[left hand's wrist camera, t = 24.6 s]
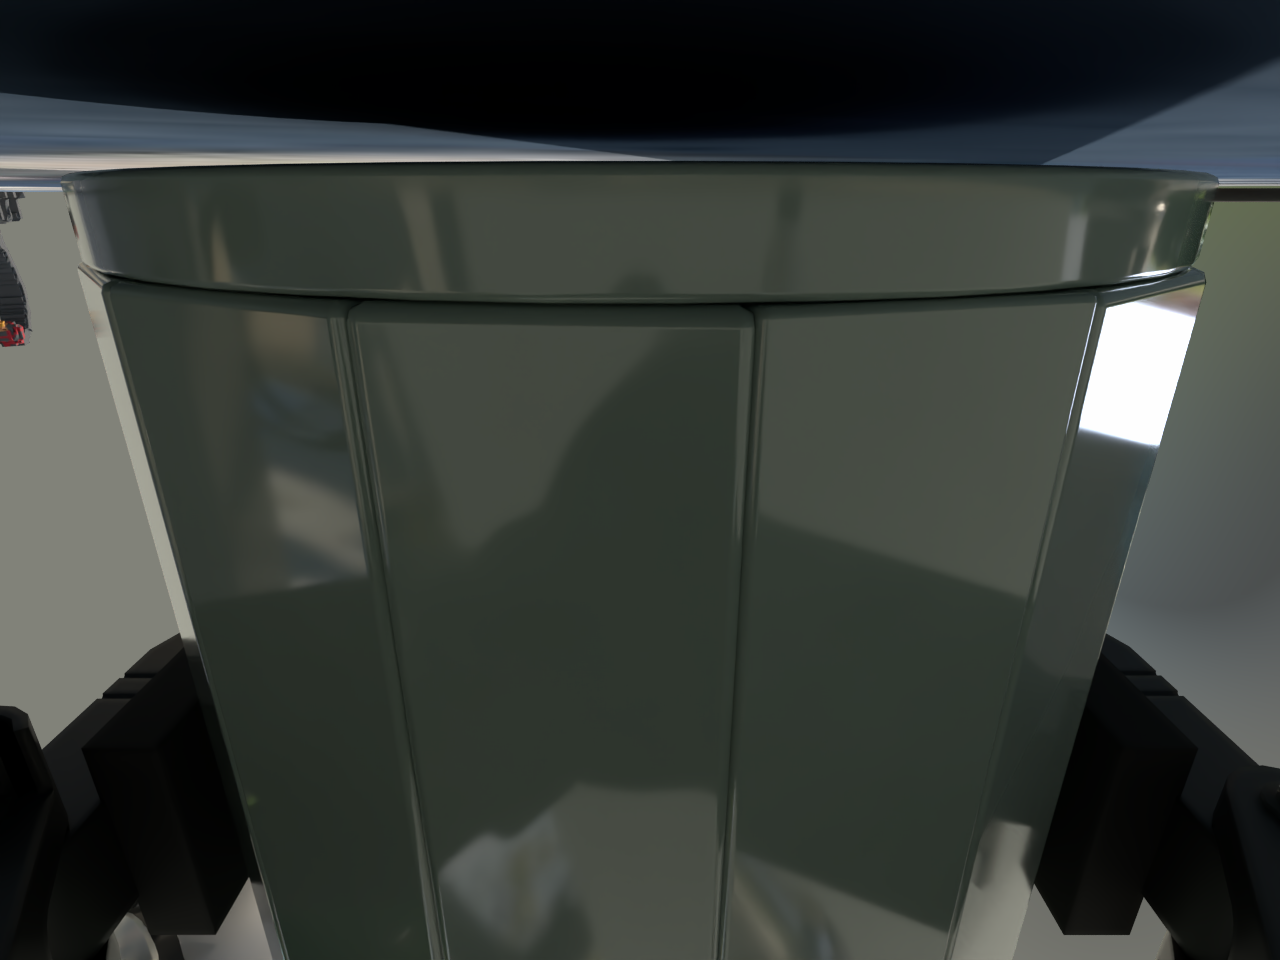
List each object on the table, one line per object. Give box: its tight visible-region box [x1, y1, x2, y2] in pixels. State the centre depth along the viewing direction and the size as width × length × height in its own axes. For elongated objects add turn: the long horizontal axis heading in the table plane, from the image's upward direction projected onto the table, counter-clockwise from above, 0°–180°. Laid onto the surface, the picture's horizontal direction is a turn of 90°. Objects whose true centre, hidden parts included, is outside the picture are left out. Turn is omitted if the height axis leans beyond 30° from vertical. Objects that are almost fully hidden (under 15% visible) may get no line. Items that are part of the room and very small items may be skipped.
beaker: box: [61, 161, 1219, 960], centre depth 10 cm, size 10×10×12 cm
